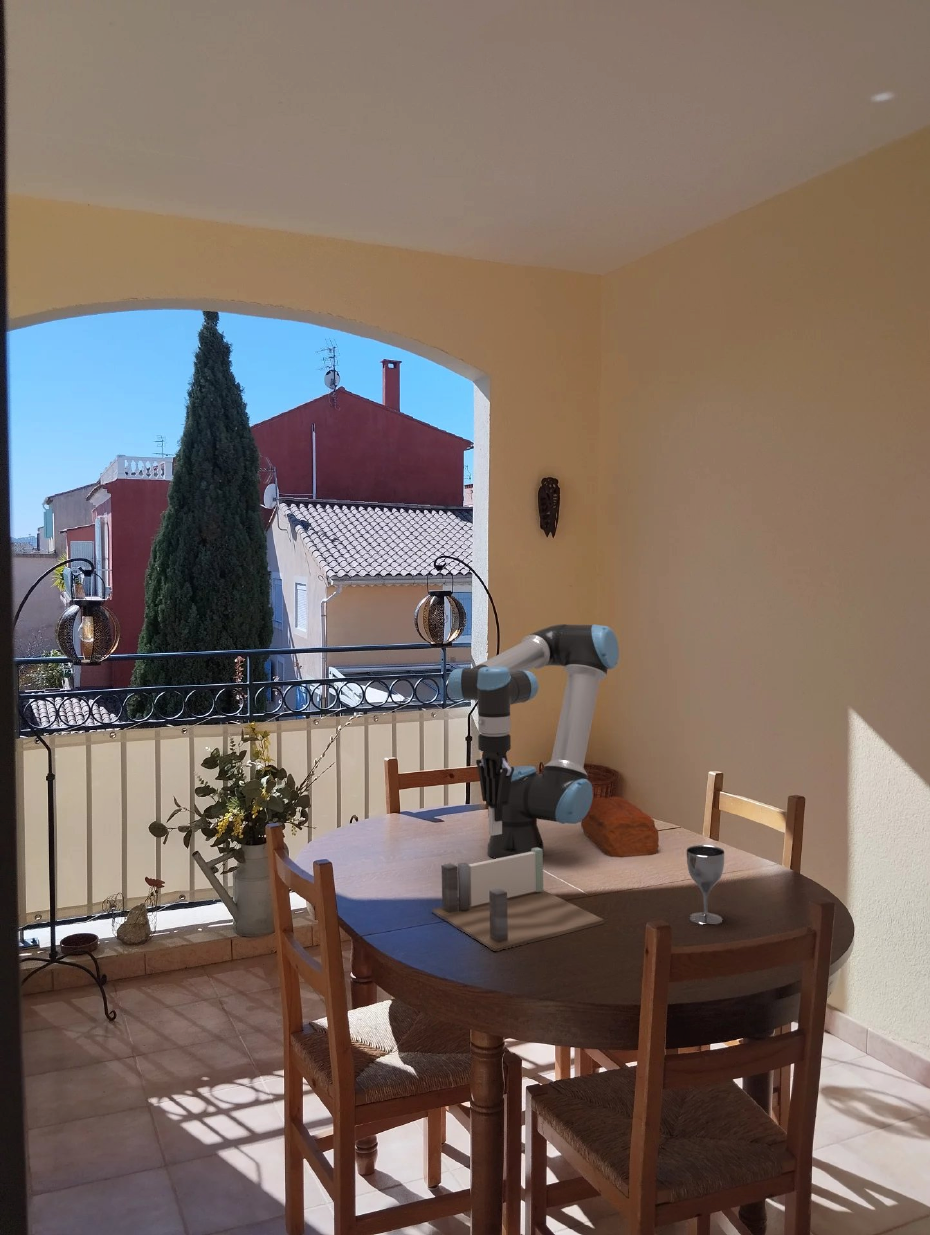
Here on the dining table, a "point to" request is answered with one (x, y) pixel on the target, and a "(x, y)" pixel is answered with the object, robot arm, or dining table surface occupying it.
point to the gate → (500, 877)
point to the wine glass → (705, 876)
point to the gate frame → (511, 915)
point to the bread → (620, 828)
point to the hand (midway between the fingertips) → (495, 833)
